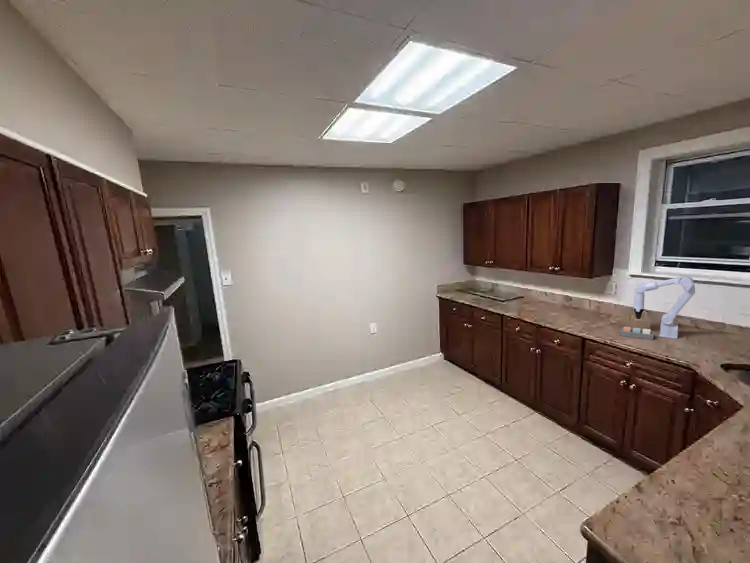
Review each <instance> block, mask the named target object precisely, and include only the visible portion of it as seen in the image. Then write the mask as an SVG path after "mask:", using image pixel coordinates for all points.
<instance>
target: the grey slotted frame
mask: <svg viewBox="0 0 750 563" xmlns="http://www.w3.org/2000/svg"><path fill="white" fill-rule="evenodd" d="M623 328H624V327H623ZM623 328H621V329H620V330H619V337H625V338H634V339H640V340H650V341H653V340H654V337H655V331H651V334H643V333H642V332H643V329H641V333H635V332H633V328H631V332H627V331H623Z"/></svg>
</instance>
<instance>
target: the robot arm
mask: <svg viewBox="0 0 750 563" xmlns="http://www.w3.org/2000/svg"><path fill="white" fill-rule="evenodd" d="M670 285H676V286H681V287H682V288H683V290H684V292H683V294H681V295H680V297H679V298H678V299H677V301H676V302H675V303H674V304H673V306H671V308H670V309H669V310H668V311H667V312H666V313H664V314H662V316H661V322H660V329H659V334H658V337H661V338H668V339H669V338H670V339H678V336H679V325H678V324H676V323H674V320H675V319H676V317H677V315H678V314H679V313H681V312H680V311H682V309H684V307H685V306H686V305H687V304H688V302H690V300H691V299H692V298H693V296H694V295H695V294H696V287H695V282H694V279H693V277H691V276H689V275H684V276H678V277H673V278H669V279H666V280H662V281H654V280H653V281H652V280H650V281H649V282H646V283H645V282H644V283H641V284H636V286H635V287H634V298H633V299H634V302H633V303H634V304H633V305H631V306H632V307H631V308H634V309H633V312H634V313H635V318H636V320H641V319H642V318H641V317H642V315H643V313H644V311H645V292H650V291H654V290H658V289H659V287H663V286H670Z"/></svg>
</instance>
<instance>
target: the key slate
mask: <svg viewBox="0 0 750 563" xmlns="http://www.w3.org/2000/svg"><path fill="white" fill-rule="evenodd" d="M632 329H633V332H635V333H641V330H642V328H640V327H633V328H632Z"/></svg>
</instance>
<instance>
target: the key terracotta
mask: <svg viewBox="0 0 750 563" xmlns="http://www.w3.org/2000/svg"><path fill="white" fill-rule="evenodd" d="M631 329H632V327H630V326H623V331H627V332H631Z"/></svg>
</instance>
